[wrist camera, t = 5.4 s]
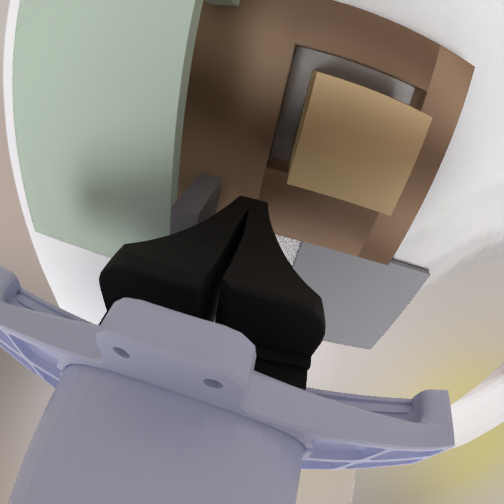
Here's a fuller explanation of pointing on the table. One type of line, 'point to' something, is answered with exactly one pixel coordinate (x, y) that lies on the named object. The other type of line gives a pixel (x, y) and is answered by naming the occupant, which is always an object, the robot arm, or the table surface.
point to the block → (355, 143)
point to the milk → (326, 486)
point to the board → (270, 102)
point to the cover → (107, 119)
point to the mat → (357, 292)
